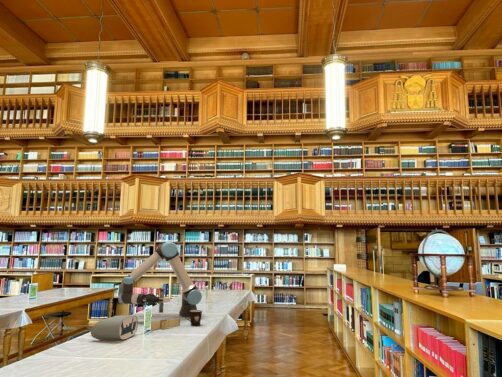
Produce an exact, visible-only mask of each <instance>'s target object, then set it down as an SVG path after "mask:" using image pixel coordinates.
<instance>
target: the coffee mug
mask: <svg viewBox="0 0 502 377" xmlns="http://www.w3.org/2000/svg"><path fill="white" fill-rule="evenodd" d="M202 313H203V310H202V309H197V310H190V313H186V314H189V315H190V316H189V317H190V319H189V318H187V317H186V316H184V318H185V319H186V320H187V321H189V322H190V326H191V327H199V326H201V320H202ZM186 314H185V315H186Z"/></svg>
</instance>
